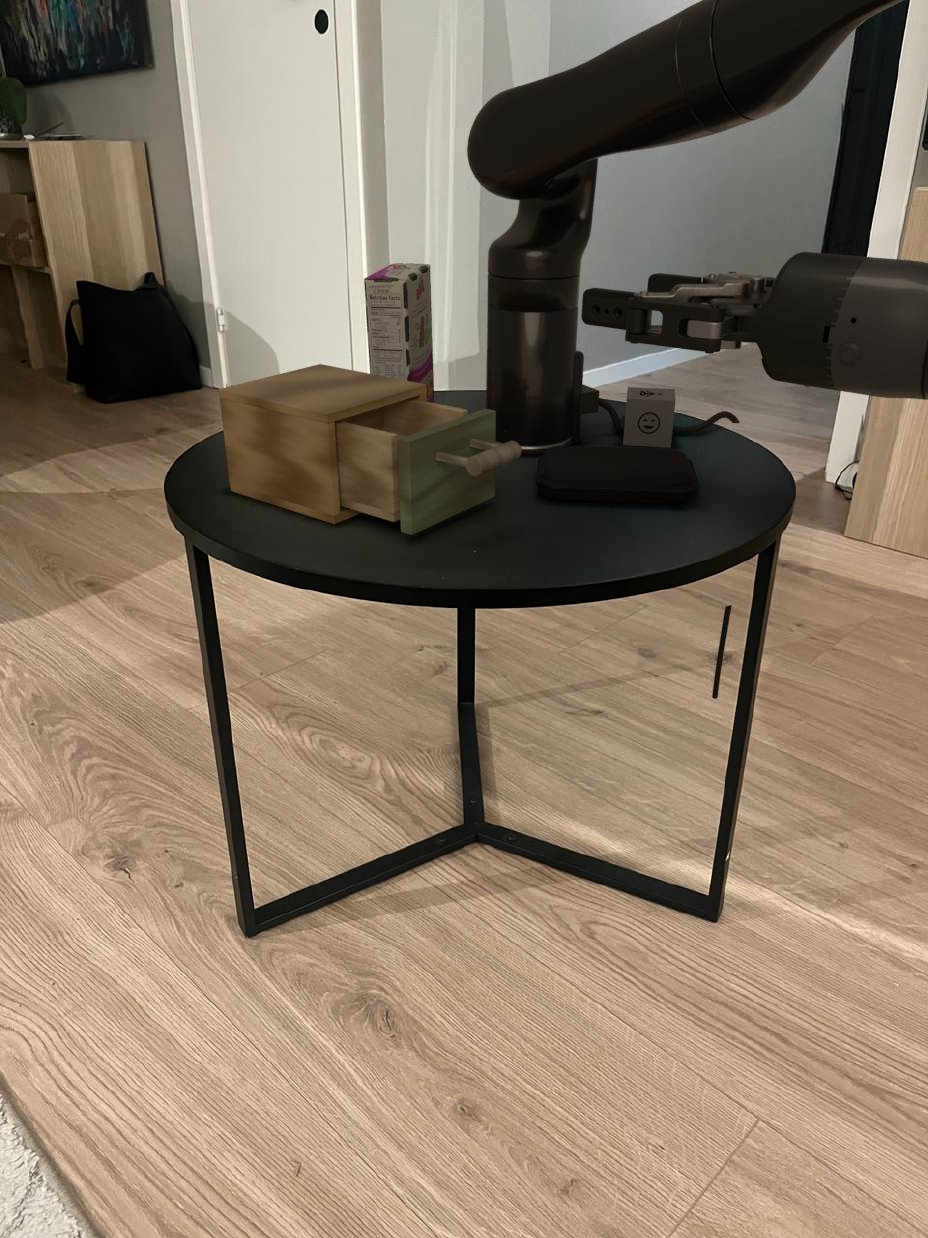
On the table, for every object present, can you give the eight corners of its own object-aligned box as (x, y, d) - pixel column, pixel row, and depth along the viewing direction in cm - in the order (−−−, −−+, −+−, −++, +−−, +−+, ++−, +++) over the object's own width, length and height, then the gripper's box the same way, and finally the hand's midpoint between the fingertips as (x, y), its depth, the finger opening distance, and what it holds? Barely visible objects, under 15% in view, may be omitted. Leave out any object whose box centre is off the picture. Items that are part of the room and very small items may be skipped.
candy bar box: (395, 404, 116) (390, 262, 109) (435, 406, 116) (433, 263, 108) (369, 429, 107) (361, 275, 99) (412, 432, 106) (408, 277, 98)
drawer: (539, 508, 82) (543, 420, 79) (458, 549, 74) (457, 453, 71) (390, 469, 92) (387, 388, 88) (303, 502, 84) (296, 414, 80)
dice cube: (624, 431, 106) (627, 386, 104) (670, 434, 105) (674, 388, 103) (623, 445, 102) (626, 398, 99) (670, 447, 101) (675, 400, 98)
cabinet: (428, 485, 90) (426, 384, 86) (334, 524, 82) (327, 414, 77) (326, 458, 98) (320, 363, 93) (230, 491, 89) (218, 388, 84)
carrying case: (687, 471, 94) (538, 466, 95) (691, 441, 92) (539, 436, 94) (700, 510, 84) (534, 504, 86) (704, 477, 83) (535, 472, 84)
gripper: (911, 246, 59) (673, 228, 67) (830, 271, 49) (563, 247, 58) (886, 369, 62) (662, 337, 71) (805, 416, 52) (557, 372, 61)
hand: (618, 296), depth 64 cm, fingers open, 8 cm apart
